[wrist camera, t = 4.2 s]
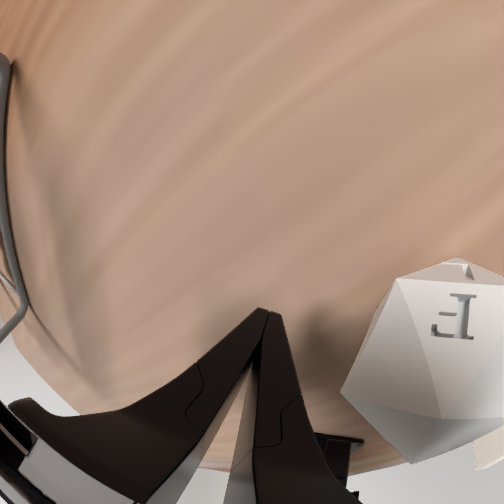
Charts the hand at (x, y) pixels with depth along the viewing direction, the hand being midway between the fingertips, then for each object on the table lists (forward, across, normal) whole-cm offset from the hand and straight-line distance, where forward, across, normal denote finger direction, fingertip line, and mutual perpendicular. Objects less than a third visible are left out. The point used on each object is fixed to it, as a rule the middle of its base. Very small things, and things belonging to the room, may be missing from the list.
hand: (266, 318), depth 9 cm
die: (+4, -8, 0) cm, 9 cm away
